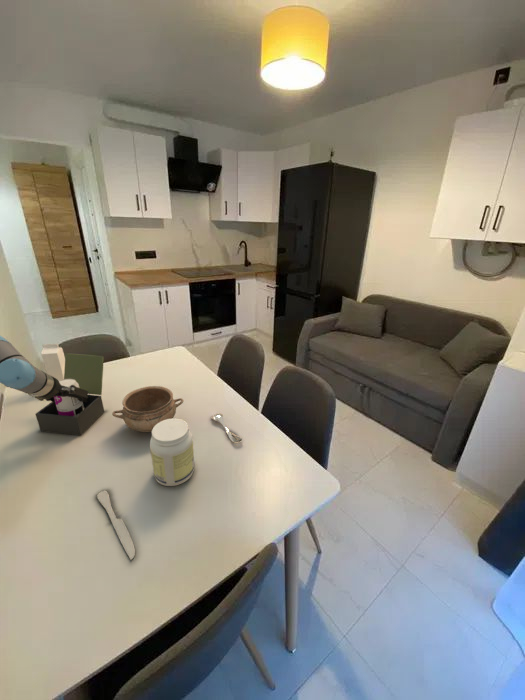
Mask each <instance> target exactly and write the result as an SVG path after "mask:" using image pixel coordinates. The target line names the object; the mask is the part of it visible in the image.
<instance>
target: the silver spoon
mask: <svg viewBox="0 0 525 700" xmlns="http://www.w3.org/2000/svg"><path fill="white" fill-rule="evenodd" d="M210 418H211V419H212V420H214V421H216V422H218V423H220V424H221V425H222V426H223V428H224V429H225V432H226V434H227V436H228V438H229V440H231V442H233V443H242V441H243V438H242V437H241V436H239V435H237V434H234V433H233V432H232V431H230V429H229V428H228V427H227V425H226V423H225V415H224V414H222V413H221V412H219V413H216V414H213V415H212V416H211V417H210Z"/></svg>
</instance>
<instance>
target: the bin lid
mask: <svg viewBox="0 0 525 700" xmlns="http://www.w3.org/2000/svg"><path fill="white" fill-rule="evenodd" d="M64 356H65V371H64V379H74V380H75V381H76V382H77V383H78V384H79V388H80V389H83V390H86V391H88V395H97V396H102V394H103V393H102V392H103V377H104V361H105V359H104V358H105V356H104V355H93V354H79V353H70V352H69V353H68V352H67V353H64Z"/></svg>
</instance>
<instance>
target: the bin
mask: <svg viewBox="0 0 525 700" xmlns="http://www.w3.org/2000/svg"><path fill="white" fill-rule="evenodd" d="M83 405H84V410H83V411H82V412H81V413H79V414H78V415H77V416H76V417H75V416H64V415H59V414H58V411H57V407H56V404H55V403H54V402H52V401H50V402H49V403H48V404H47V405H46V406H43V408H41V409H40V410H38V411H37V412H36V413H35V418H36V421H37V424H38V426H39V431H40V432H43V433H44V432H45V433H55V434H63V435H64V434H65V435H73V436H82V435H83V434H84V433H85V432H86V431H87V430H88V429H89V428H90V427H91V426H92V425H93V424H94V423H95V422H96V421H98V419H99V418H100V417H101V416H102V415H103V414H104V413H105V407H104V402H103V398H102V395H95V394H88V399H87V403H84V402H83Z"/></svg>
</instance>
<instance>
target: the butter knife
mask: <svg viewBox="0 0 525 700" xmlns="http://www.w3.org/2000/svg"><path fill="white" fill-rule="evenodd" d="M96 498H97V500H98V502H99V503H100V504H101V506H102V507H103V508H104V509H105V511H106V512H107V515H108V518H109V520H110V522H111V524H112V526H113V528H114V530H115V533H116V534H117V537H118V539H119V541H120V543H121V545H122V547H123V549H124V551H125V552H126V554H127V556H128V558H129V560H133V559H134V557H135V555H136V550H135V545H134V542H133V540H132V537H131V535H130V533H129V530H128V528H127V527H126V524H125V522H124V520H123V519H122V518H117V516H116V514H115V512H114V509H113V508H112V503H111V498H110V495H109V493H108V491H107V490H101V491H100V492H99V493H97V494H96Z"/></svg>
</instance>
